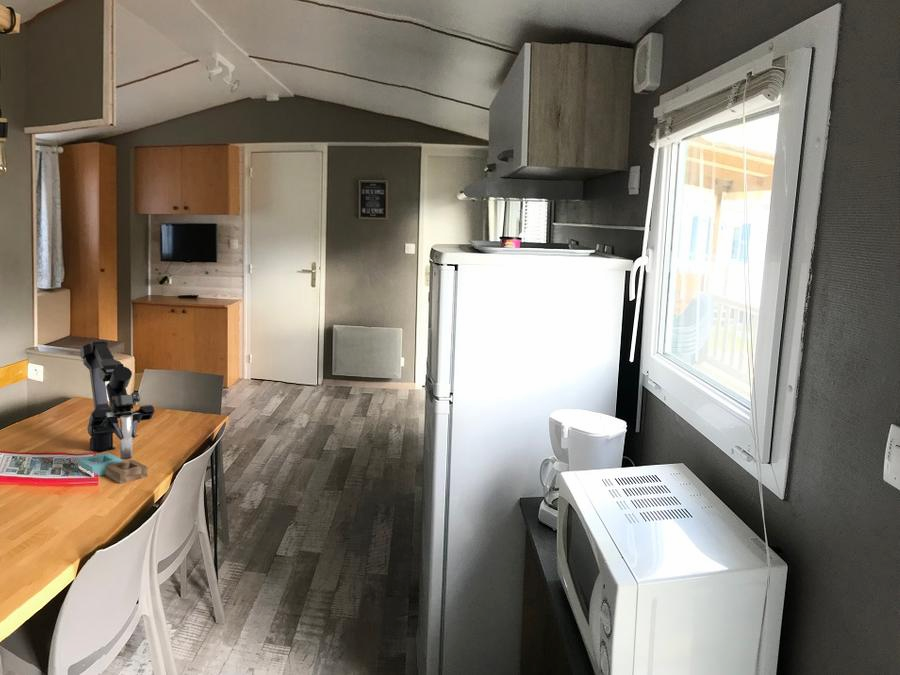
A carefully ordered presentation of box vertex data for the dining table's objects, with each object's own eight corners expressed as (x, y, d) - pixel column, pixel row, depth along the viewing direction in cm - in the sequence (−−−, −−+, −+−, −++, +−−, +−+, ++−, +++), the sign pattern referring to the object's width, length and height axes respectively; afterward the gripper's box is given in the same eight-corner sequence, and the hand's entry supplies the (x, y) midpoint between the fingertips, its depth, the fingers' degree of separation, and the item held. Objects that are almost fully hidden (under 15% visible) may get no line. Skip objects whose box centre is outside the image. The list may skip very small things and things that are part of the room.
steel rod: (129, 455, 217) (129, 414, 215) (134, 457, 215) (134, 416, 213) (118, 457, 214) (118, 416, 212) (123, 460, 212) (123, 418, 210)
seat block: (107, 462, 226) (107, 452, 226) (123, 469, 220) (123, 459, 220) (77, 469, 218) (77, 459, 218) (92, 477, 212) (92, 467, 212)
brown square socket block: (132, 469, 222) (132, 459, 221) (147, 476, 216) (147, 466, 216) (105, 476, 214) (105, 465, 214) (120, 483, 209) (120, 473, 209)
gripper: (91, 386, 207) (100, 430, 201) (153, 381, 220) (163, 422, 213) (85, 404, 214) (94, 447, 208) (145, 398, 227) (155, 438, 220)
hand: (127, 438), depth 212 cm, fingers closed on steel rod, 4 cm apart
